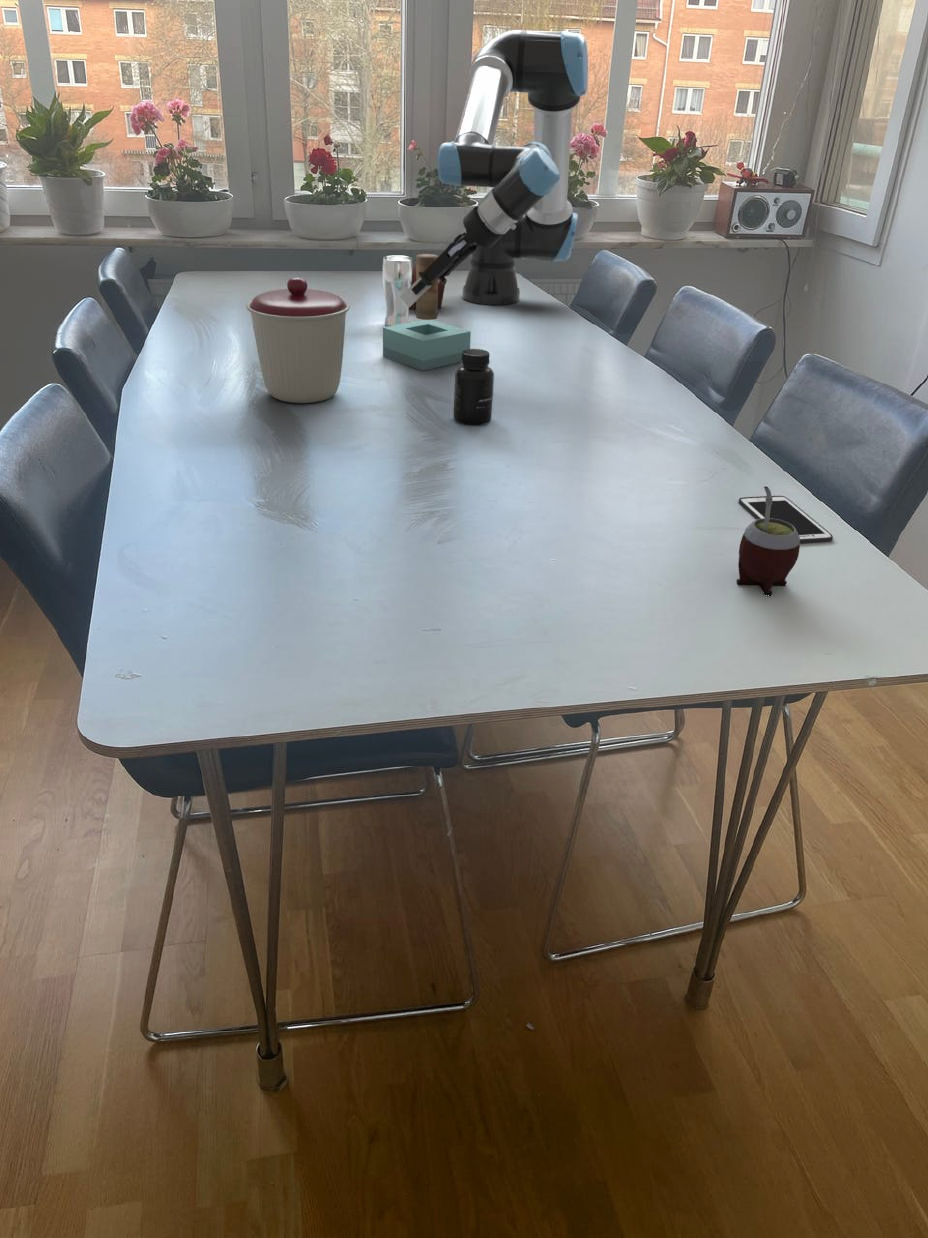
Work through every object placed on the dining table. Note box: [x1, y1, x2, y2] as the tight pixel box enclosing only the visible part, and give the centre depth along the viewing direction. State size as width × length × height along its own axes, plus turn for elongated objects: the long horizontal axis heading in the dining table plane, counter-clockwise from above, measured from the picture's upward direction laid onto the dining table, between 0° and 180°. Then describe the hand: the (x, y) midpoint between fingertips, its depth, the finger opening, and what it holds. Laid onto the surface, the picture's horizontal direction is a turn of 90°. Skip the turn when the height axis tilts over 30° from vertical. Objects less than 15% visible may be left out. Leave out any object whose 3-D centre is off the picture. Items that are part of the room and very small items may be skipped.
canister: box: [245, 276, 350, 404], centre depth 170 cm, size 18×18×21 cm
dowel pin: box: [415, 253, 439, 320], centre depth 192 cm, size 4×4×12 cm
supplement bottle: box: [452, 348, 495, 426], centre depth 165 cm, size 7×7×12 cm
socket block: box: [382, 319, 472, 372], centre depth 198 cm, size 13×13×6 cm
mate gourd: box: [736, 485, 801, 597], centre depth 115 cm, size 8×8×15 cm
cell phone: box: [738, 495, 834, 545], centre depth 136 cm, size 8×15×1 cm, turn 12°
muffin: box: [409, 265, 448, 311], centre depth 237 cm, size 12×11×10 cm
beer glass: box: [381, 254, 413, 327], centre depth 219 cm, size 7×7×15 cm
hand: (410, 299), depth 195 cm, fingers closed on dowel pin, 4 cm apart
